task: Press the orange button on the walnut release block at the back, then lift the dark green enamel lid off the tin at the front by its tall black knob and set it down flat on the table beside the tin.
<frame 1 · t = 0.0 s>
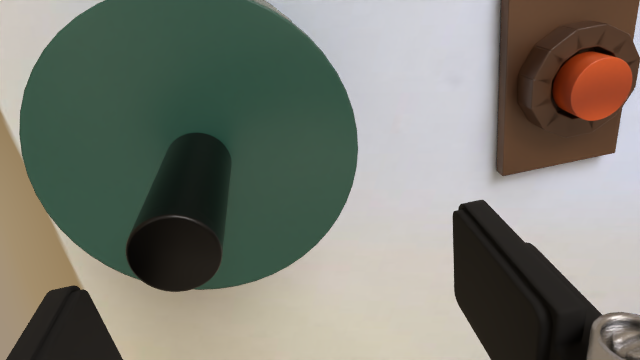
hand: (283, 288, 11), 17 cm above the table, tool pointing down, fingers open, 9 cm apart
lid: (200, 155, 17), point 9 cm above the table, touching tin
button: (591, 86, 25), point 3 cm above the table, slide at 0.1 cm
release block: (559, 74, 28), on the table
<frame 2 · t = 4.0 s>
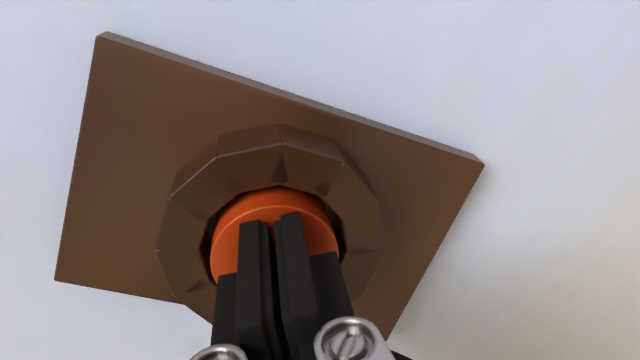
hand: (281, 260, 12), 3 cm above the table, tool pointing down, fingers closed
button: (274, 244, 13), point 2 cm above the table, slide at -0.7 cm, touching gripper
release block: (271, 208, 15), on the table
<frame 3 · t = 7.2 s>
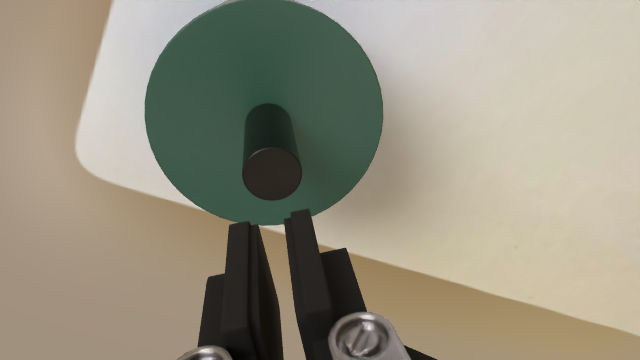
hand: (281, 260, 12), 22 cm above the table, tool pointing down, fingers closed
lid: (268, 121, 24), point 9 cm above the table, touching tin
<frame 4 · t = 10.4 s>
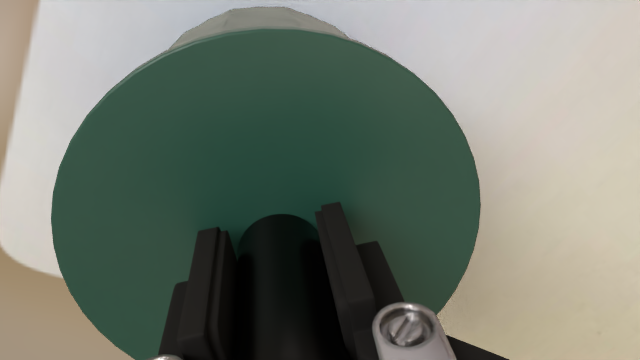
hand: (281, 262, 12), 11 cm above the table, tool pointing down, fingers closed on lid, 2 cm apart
lid: (279, 236, 13), point 10 cm above the table, touching gripper, tin
tin: (268, 130, 22), on the table
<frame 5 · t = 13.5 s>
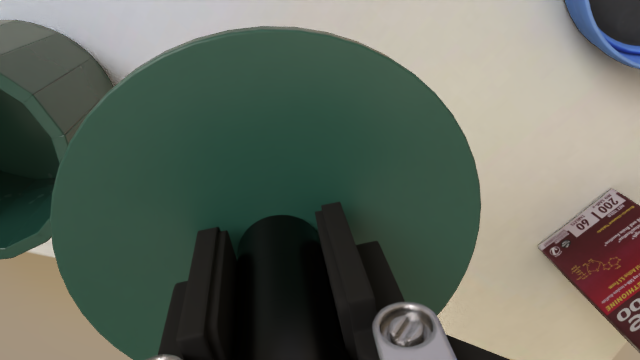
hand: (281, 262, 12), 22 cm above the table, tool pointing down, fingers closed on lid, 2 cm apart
lid: (278, 237, 13), point 20 cm above the table, touching gripper
supplement box: (581, 229, 42), on the table
tin: (31, 108, 30), on the table
when the fingers open (2 cm above the table, at t = 16.7 s): lid stays where it is, point 1 cm above the table.
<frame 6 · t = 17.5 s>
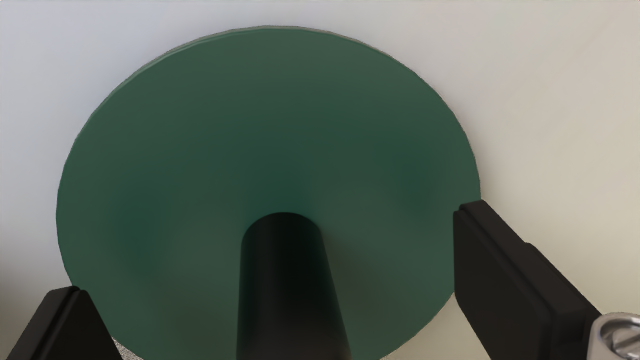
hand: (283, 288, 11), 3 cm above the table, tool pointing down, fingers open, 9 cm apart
lid: (281, 234, 14), point 1 cm above the table
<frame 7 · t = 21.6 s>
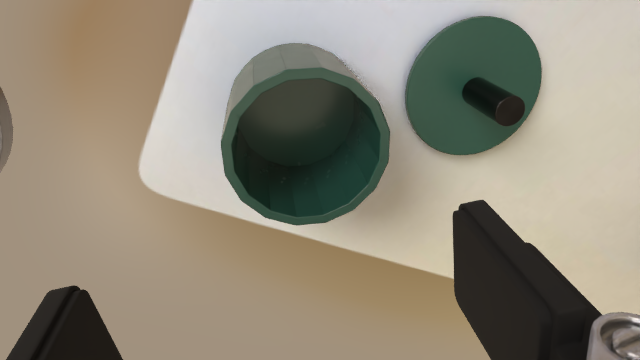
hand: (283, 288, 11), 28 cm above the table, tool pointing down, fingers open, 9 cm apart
lid: (472, 89, 39), point 1 cm above the table
tin: (295, 110, 39), on the table
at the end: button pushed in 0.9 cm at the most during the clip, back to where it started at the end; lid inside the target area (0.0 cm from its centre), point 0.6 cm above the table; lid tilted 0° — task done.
